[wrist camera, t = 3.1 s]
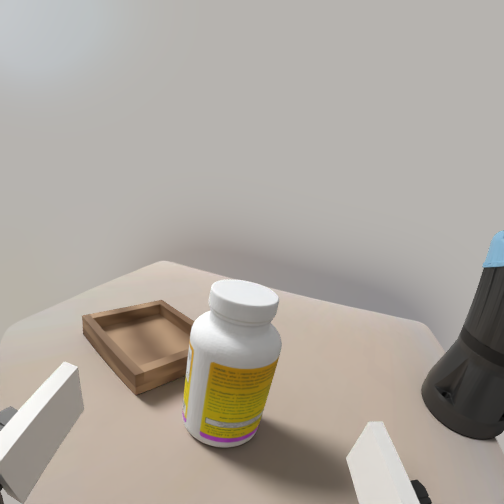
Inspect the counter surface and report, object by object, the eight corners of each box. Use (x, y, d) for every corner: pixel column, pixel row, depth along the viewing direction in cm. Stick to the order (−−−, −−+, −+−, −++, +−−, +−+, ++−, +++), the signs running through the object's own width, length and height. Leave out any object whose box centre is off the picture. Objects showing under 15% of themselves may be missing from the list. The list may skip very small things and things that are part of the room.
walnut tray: (160, 315, 40) (161, 299, 40) (222, 358, 33) (225, 340, 33) (83, 333, 31) (82, 315, 30) (135, 395, 24) (135, 375, 23)
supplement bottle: (271, 430, 23) (313, 303, 20) (214, 462, 19) (244, 322, 16) (223, 391, 28) (247, 271, 25) (166, 412, 23) (178, 277, 20)
